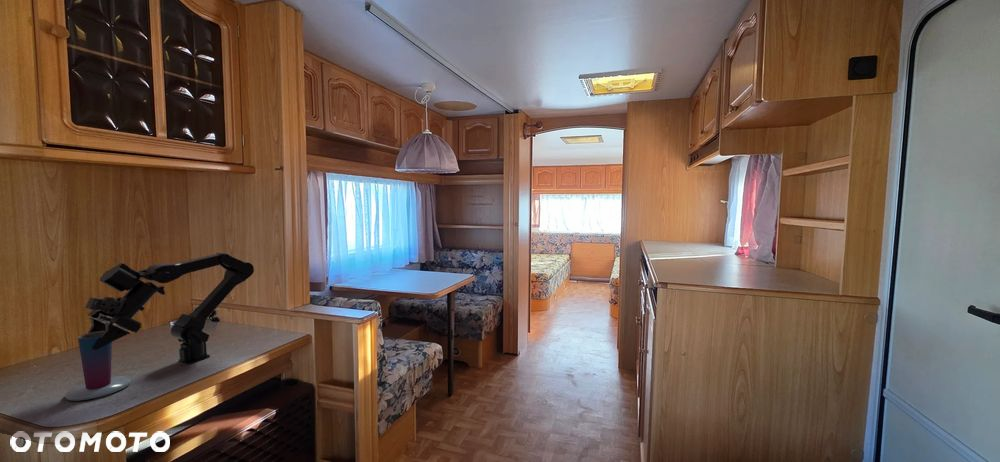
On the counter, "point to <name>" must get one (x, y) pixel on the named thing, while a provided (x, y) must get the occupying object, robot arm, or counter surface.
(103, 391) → the saucer
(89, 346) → the cup
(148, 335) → the counter surface
